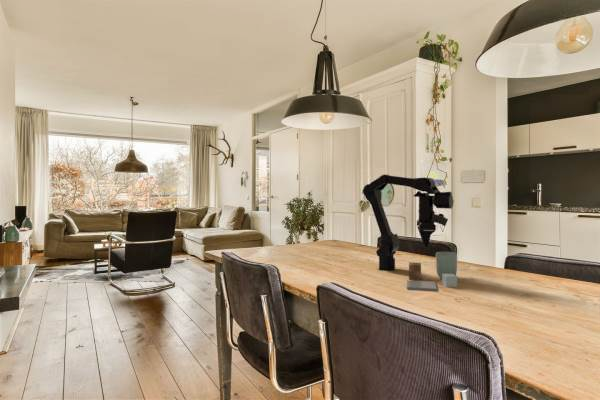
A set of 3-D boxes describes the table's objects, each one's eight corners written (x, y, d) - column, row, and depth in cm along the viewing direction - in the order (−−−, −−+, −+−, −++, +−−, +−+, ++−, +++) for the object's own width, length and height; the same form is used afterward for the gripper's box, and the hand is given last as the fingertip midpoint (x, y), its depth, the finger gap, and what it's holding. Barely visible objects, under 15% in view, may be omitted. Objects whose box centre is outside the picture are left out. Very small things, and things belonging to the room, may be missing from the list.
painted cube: (446, 287, 132) (445, 276, 132) (442, 284, 136) (442, 273, 136) (457, 287, 131) (457, 276, 131) (452, 284, 135) (452, 273, 135)
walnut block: (409, 279, 143) (408, 264, 143) (409, 277, 147) (408, 262, 147) (421, 280, 142) (420, 265, 142) (420, 277, 146) (420, 262, 146)
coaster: (406, 289, 129) (406, 287, 129) (407, 282, 139) (407, 280, 139) (436, 291, 126) (436, 288, 126) (434, 283, 136) (434, 281, 136)
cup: (460, 280, 140) (460, 254, 140) (440, 281, 140) (440, 255, 140) (452, 276, 148) (452, 251, 148) (433, 276, 148) (433, 251, 148)
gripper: (449, 209, 140) (449, 249, 141) (443, 206, 158) (443, 242, 159) (419, 209, 143) (419, 248, 144) (416, 206, 161) (416, 241, 162)
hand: (425, 245), depth 152 cm, fingers open, 9 cm apart
